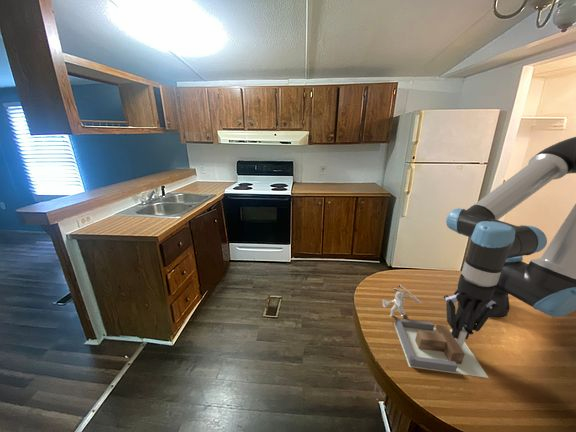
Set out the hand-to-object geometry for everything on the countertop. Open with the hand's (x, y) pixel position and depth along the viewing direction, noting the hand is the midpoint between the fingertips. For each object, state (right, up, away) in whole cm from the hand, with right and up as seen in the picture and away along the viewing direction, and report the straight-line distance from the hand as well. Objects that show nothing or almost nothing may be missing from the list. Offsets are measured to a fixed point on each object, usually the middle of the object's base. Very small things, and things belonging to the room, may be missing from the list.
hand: (456, 345), depth 69 cm
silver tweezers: (0, +5, +24) cm, 24 cm away
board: (-5, -2, +2) cm, 6 cm away
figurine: (-13, +2, +14) cm, 19 cm away
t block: (-6, -1, +2) cm, 6 cm away
